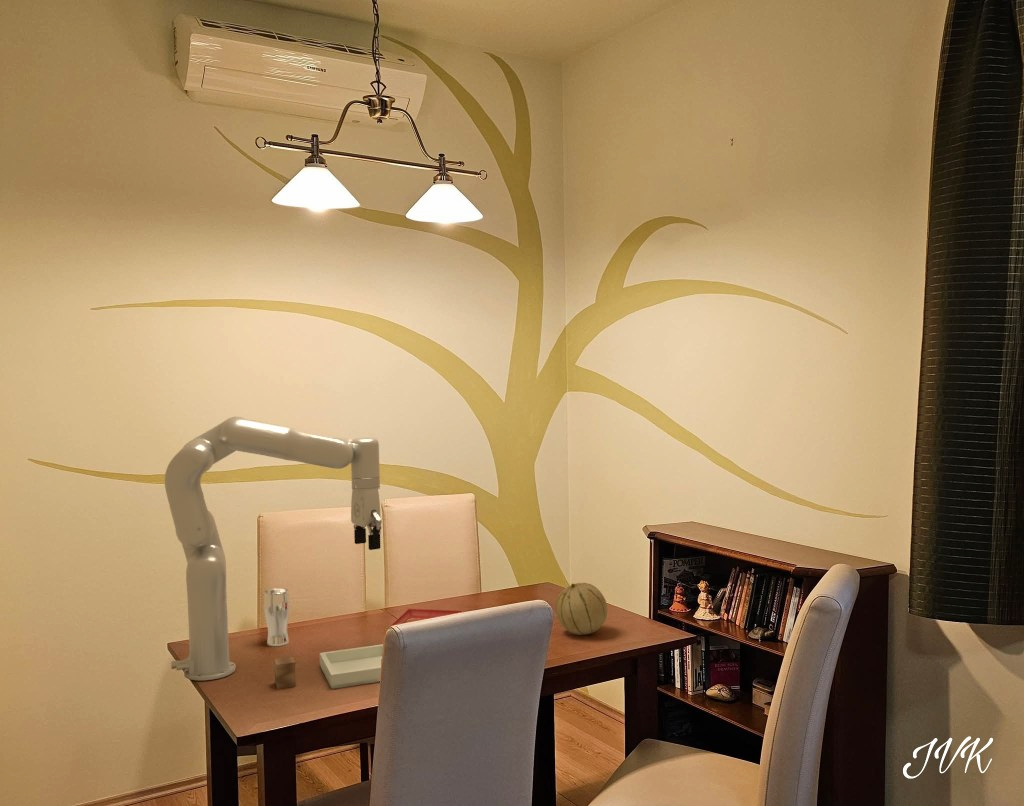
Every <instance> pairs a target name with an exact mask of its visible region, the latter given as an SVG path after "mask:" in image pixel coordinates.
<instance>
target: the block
mask: <svg viewBox="0 0 1024 806" xmlns="http://www.w3.org/2000/svg"><path fill="white" fill-rule="evenodd" d="M273 663H274V681H275V682H274V684H275V687H276V689H277V690H281V689H286V688H294V687H297V680H296V679H297V678H296V677H297V674H296V673H297V672H296V661H295V659H294V656H289V657H283V658H282V657H281V658H275V659H274V661H273Z"/></svg>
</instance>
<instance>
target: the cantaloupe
mask: <svg viewBox="0 0 1024 806" xmlns="http://www.w3.org/2000/svg"><path fill="white" fill-rule="evenodd" d="M555 611H556V616H557V619H558V621H559V623H560V624H561V626H562V627H563V629H565V630H566V631H567V632H569V633H571V634H573V635H579V636H582V635H583V636H584V635H589V634H593V633H595V632H597V631H598V630H599V629H600V628H601V627H602V626H603V625H604V623H605V621H606V620H607V615H608V603H607V600H606V599H605V597H604V595H603V593H602V592H601V591H600V590H599V588H597V587H596V586H595V585H593V584H592V583H588V582H576V583H571V584H570V585H568V586H566V587H565V588H564V589H563V590H561V592H560V593H559V595H558V596H557V599H556V603H555Z"/></svg>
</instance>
